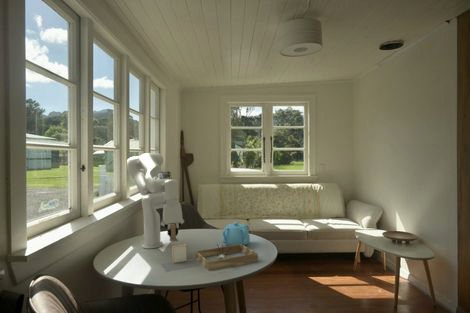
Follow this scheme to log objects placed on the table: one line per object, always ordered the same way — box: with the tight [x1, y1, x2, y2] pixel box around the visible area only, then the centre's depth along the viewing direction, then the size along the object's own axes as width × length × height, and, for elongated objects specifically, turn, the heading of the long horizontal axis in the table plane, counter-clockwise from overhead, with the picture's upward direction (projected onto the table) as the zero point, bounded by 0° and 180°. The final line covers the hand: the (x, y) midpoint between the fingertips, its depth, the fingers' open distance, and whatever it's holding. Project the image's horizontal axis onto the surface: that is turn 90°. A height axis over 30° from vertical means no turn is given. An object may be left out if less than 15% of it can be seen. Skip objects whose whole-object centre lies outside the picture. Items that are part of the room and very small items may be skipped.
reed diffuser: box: [216, 243, 228, 260], centre depth 150 cm, size 10×7×20 cm
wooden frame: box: [194, 244, 259, 271], centre depth 149 cm, size 19×27×4 cm
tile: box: [171, 244, 188, 263], centre depth 146 cm, size 2×7×8 cm, turn 116°
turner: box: [168, 223, 183, 244], centre depth 156 cm, size 11×5×8 cm, turn 25°
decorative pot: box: [221, 221, 251, 246], centre depth 175 cm, size 16×16×14 cm
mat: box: [160, 257, 200, 273], centre depth 142 cm, size 12×16×1 cm
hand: (173, 235), depth 159 cm, fingers closed on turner, 2 cm apart
